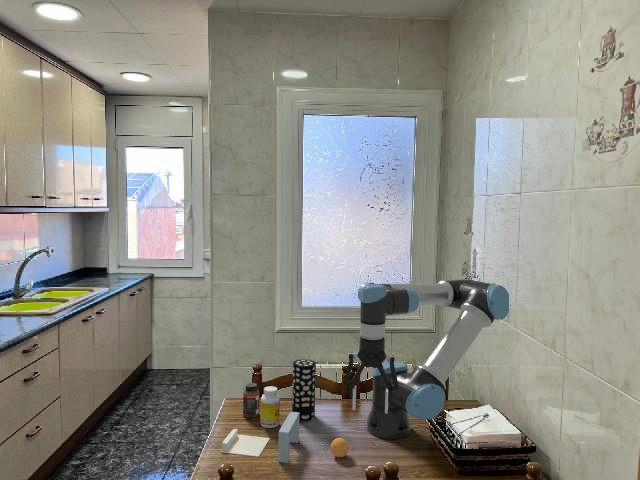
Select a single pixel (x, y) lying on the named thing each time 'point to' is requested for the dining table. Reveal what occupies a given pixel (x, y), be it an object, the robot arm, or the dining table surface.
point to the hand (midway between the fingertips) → (370, 409)
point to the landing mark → (247, 445)
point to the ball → (339, 447)
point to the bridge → (288, 436)
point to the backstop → (229, 439)
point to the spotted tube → (304, 389)
